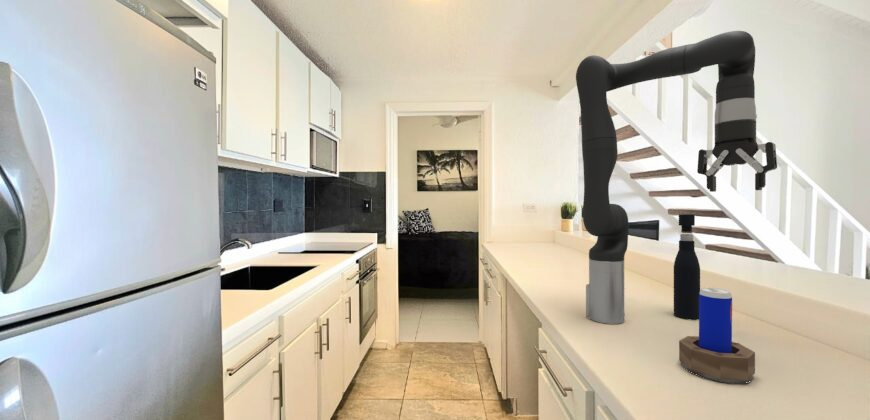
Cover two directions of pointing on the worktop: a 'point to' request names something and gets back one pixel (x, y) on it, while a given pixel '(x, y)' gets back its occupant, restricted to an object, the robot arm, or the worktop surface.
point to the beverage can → (715, 320)
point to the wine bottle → (686, 273)
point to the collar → (717, 361)
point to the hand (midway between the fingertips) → (734, 190)
